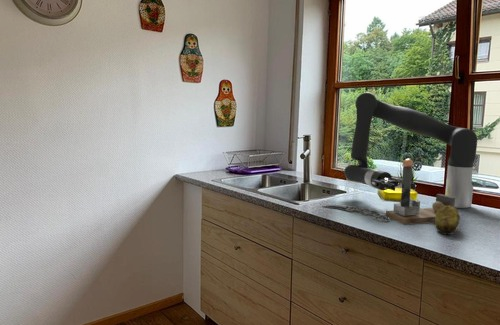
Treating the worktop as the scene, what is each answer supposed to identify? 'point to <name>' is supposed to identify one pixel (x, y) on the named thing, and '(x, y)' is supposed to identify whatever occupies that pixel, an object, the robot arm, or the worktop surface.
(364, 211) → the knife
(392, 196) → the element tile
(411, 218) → the base
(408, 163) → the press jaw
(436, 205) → the walnut
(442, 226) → the potato
